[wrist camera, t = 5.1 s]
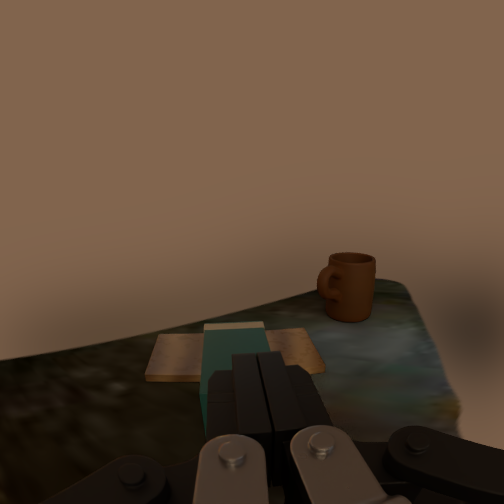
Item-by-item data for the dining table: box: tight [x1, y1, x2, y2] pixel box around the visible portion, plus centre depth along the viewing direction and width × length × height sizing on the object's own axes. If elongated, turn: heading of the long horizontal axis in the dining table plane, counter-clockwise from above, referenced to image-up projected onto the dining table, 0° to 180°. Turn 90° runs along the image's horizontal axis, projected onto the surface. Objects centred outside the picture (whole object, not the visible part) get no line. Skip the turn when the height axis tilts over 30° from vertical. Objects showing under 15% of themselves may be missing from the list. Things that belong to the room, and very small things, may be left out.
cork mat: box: [145, 328, 325, 382], centre depth 37 cm, size 20×10×1 cm, turn 96°
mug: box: [317, 252, 376, 322], centre depth 46 cm, size 12×8×9 cm, turn 130°
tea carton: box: [199, 321, 271, 436], centre depth 25 cm, size 6×11×8 cm, turn 6°
